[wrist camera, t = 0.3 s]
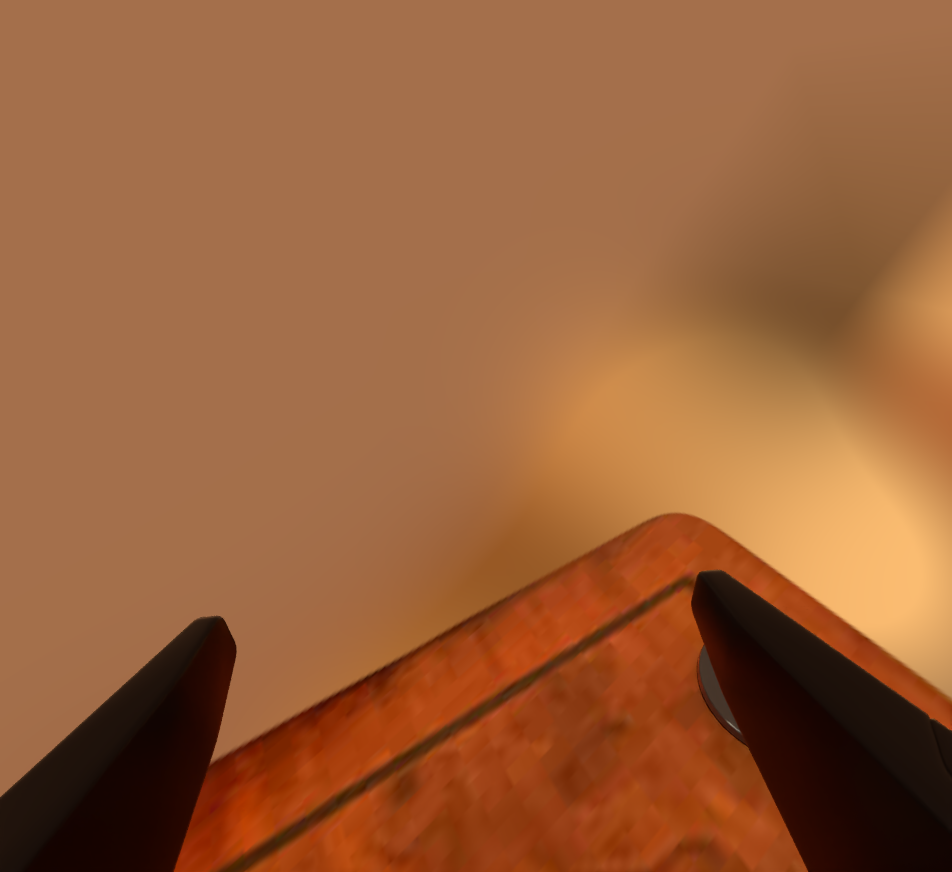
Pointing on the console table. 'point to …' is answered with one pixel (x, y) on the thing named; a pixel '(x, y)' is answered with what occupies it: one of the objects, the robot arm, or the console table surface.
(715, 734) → the console table surface
